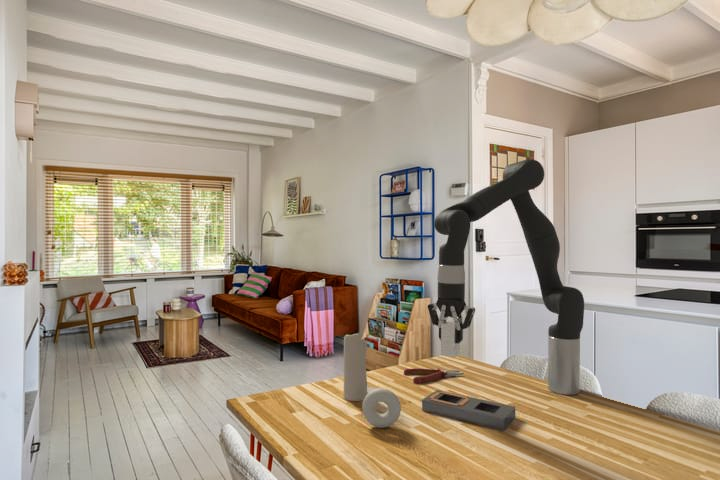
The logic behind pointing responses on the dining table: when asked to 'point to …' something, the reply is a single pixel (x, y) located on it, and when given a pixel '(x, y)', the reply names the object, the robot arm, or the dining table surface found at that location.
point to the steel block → (449, 340)
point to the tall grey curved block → (355, 368)
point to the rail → (469, 409)
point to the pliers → (430, 374)
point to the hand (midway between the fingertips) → (450, 341)
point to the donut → (373, 415)
